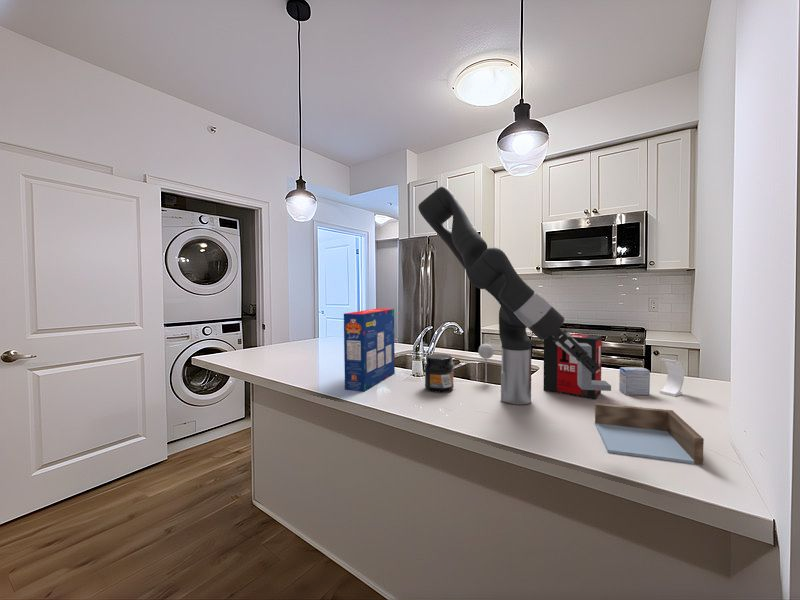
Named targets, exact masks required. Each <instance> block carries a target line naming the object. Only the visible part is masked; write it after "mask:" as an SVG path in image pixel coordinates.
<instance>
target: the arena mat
mask: <svg viewBox="0 0 800 600" xmlns="http://www.w3.org/2000/svg"><path fill="white" fill-rule="evenodd" d="M595 426H596V429H597V432H598V435H599V436H600V438H601V440H602V443H603V444H604V445H603V446H604V447H605V449H606V452H607V453H609V454H610V453H611V454H617V455H624V456H631V457H632V456H633V457H640V458H649V459H656V460H661V461H662V460H663V461H670V462H677V463H678V462H679V463H685V464H692V465H695V464H694V460H693V459H692V458H691V457H690V456H689V455H688V454H687V453H686V451H685V450H684V449H683V448H682V447H681V446H680V445H679V444H678V443H677V442H676V440H675V439H674V438H673V437H672V436H671V435H670V434H669V433H668V432H667V431H662V430H653V429H644V428H635V427H625V426H616V425H607V424H598V423H596V425H595Z"/></svg>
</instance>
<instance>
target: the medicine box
mask: <svg viewBox="0 0 800 600" xmlns="http://www.w3.org/2000/svg"><path fill="white" fill-rule="evenodd" d="M650 383H651V371H650V370H649V369H647V368H644V367H636V366H635V367H634V366H633V367H631V366H630V367H629V366H627V367H625V366H624V367H622V366H621V367H619V383H618V385H619V386H618V387H619V388H618V389H619V392H620V393H621V394H624V395H626V396H627V395H628V396H629V395H631V396H633V395H634V396H650V394H651V393H650V390H651V388H650V387H651V385H650Z"/></svg>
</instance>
